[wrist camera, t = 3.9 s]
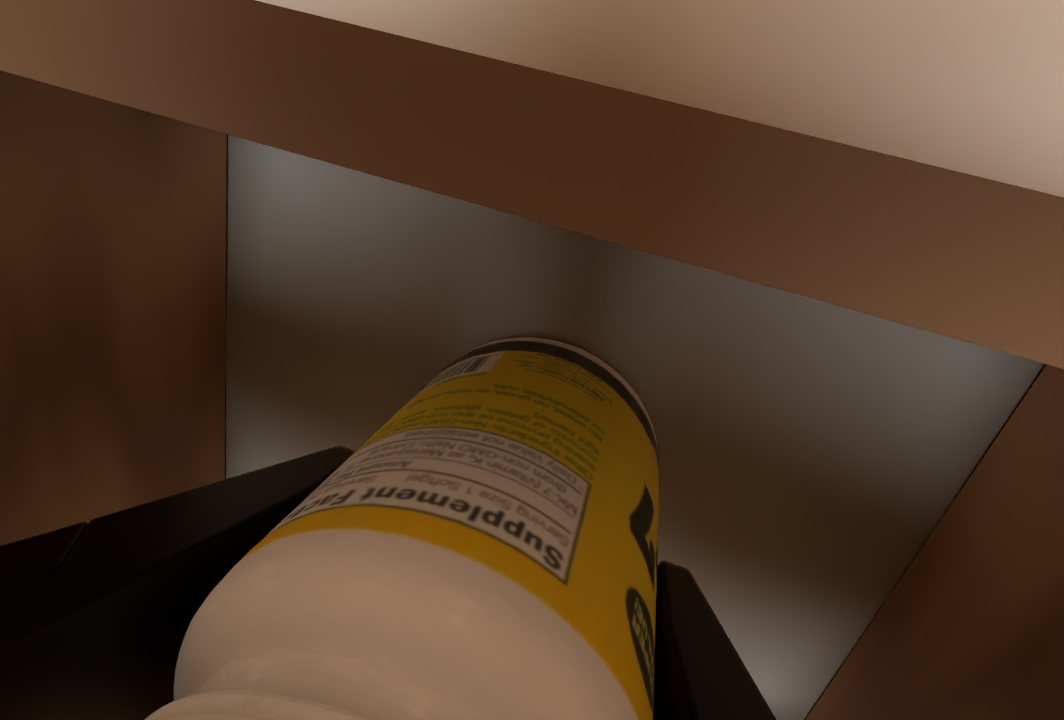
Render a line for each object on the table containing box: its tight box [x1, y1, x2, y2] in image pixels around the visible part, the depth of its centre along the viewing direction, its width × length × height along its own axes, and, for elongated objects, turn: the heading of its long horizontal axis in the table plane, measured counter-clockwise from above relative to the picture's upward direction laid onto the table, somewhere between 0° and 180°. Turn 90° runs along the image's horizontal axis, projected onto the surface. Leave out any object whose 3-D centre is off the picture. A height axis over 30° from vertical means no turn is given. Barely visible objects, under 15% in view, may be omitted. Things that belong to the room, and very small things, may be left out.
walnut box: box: [0, 0, 1064, 720], centre depth 8 cm, size 12×16×5 cm
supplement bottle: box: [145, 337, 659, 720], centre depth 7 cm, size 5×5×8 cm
